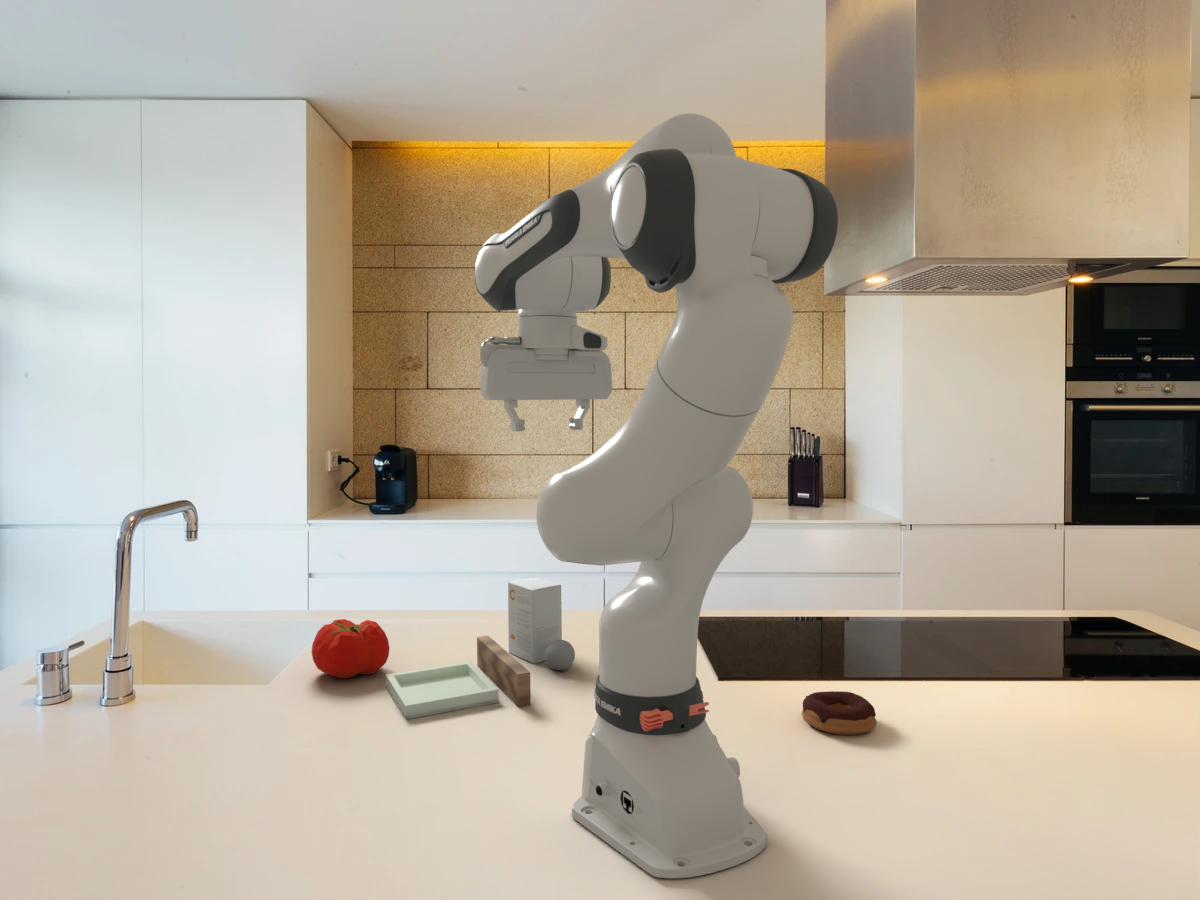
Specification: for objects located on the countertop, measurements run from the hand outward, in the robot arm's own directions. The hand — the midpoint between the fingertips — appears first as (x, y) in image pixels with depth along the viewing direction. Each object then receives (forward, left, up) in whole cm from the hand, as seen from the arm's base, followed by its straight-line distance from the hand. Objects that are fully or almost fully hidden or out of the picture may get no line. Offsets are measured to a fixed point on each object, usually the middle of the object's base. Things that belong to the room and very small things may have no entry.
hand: (547, 430), depth 121 cm
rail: (+8, +5, -41) cm, 42 cm away
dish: (+8, +15, -41) cm, 44 cm away
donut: (-28, -33, -41) cm, 60 cm away
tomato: (+24, +26, -41) cm, 54 cm away
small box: (+19, -5, -41) cm, 46 cm away
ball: (+10, -6, -39) cm, 40 cm away
